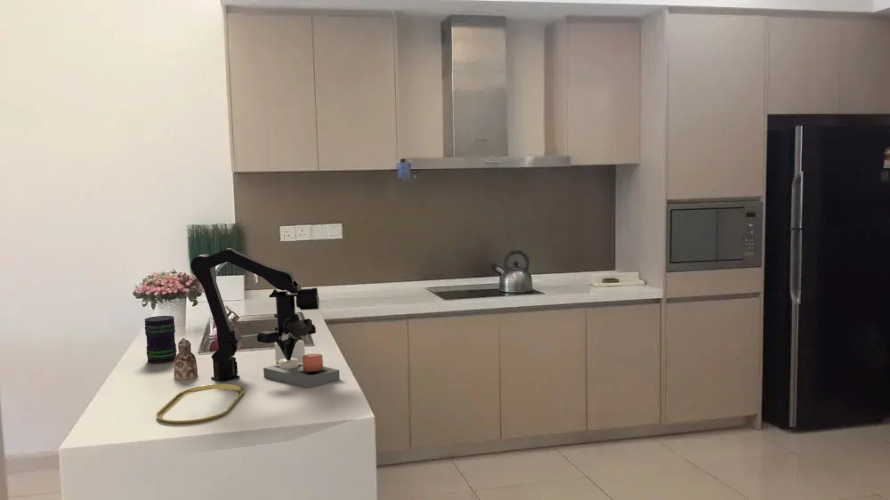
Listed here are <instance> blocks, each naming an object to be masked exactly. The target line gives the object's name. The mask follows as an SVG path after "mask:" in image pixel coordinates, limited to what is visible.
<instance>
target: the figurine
mask: <svg viewBox="0 0 890 500" xmlns="http://www.w3.org/2000/svg"><path fill="white" fill-rule="evenodd" d="M191 345H192V343H191V342H190V341H189V340H188V339H186V338H185V337H184V338H181V340H180V341H179V342H178V343H177V349H178V350H177V351H178V353H176V354H177V355H176V357H175V361H174V367H173V368H174V369H173V376H174V377H173V378H174V379H175V380H190V379H195V378H197V377H198V374H199V372H198V364H197V358H196V356H195V354H194V353H193V352H192V346H191Z"/></svg>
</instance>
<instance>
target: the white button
mask: <svg viewBox="0 0 890 500" xmlns="http://www.w3.org/2000/svg"><path fill="white" fill-rule="evenodd" d="M296 367H299V361H298V358H291V360H286V358H284V359H280V360H279V368H281V369H286V370H288V369H292V368H296Z"/></svg>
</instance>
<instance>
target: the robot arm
mask: <svg viewBox="0 0 890 500" xmlns="http://www.w3.org/2000/svg"><path fill="white" fill-rule="evenodd" d="M225 263H230V264H231V265H234V266H237V267H238V268H240V269H243V270H245V271H247V272H249V273H251V274H255V275H256V276H259V277H261V278H262V279H263V280H265V281H266V282H267V283H268V284H270V285H272V286H273V287H274V289H273V290H272V292H271V293H270V294H269V296H268V297H269V298H275V305H276V306H275V307H276V308H275V309H276V313H274V314H273V316H274V319H275V318H276V324H277V325H276V326H274V331H273V330H264V331H260V332H257V335H256V340H257V341H256V342H258V343H259V342H260V343H263V344H272V343H277V344H278V346H279V347H280V349H281V351H282V352H283V354H284V356H285V358H286V360H291V356H292V353H293V350H294V347H295V344H296V342H297V341H298V340H301V339H302V338H303V336H304V337H307V336H308V335H313V334H316V333H317V328H316V325H315V324H313V321H312V319H311V318H305V319H301V320H300V316H299V313H296V307H297V308H298V309H300V311H312V310H313V311H314V310H319V309H320V296H319V291H318V287H312V288H302V287H301V286H300V285H299V284H298V281H296V280H295V275H294V273H293V272H292V271H291V270H289V269H285V268H281V267H278V266H271V265H268V264H266V263H264V262H263V261H262V262H261V261H259V260H257V259H255V258H252V257H250V256H248V255H246V254H244V253H241V252H239V251H237V250H235V249H234V248H232V247H228V248H225V249H224V250H221V251H218V252H216V253H213V254H207V253H206V254H205V253H204V254H200V255H198V256H196V257H194V258H193V259H192V260H191V263H190V269H191V271H192V273H193V275H194V277H195V278H196V279H197V281H198V282H199V284H201V286H202V289H203V292H204V295H205V298H206V301H207V303H208V307H209V310H210V313H211V315H212V318H213V321H214V324H215V328H216V341H217V342H216V343H217V348H218V349H217V350H215V352H214V353H212V355H211V359H212V364H213V365H212V369H213V376H211V377H210V379H211V380H213V381H219V382H226V381H231V380H233V379H237V378H238V379H239V378H240V375H238V374H239V372H238V369H239V368H238V361H237V357H234V356H235V355H236V353H237V351H239V350H240V348H241V347H242V340H243V336H241V333H240V328H239V326H237V327H235V328H234V326H233V325H232V323H231V321H230V319H229V316H228V312H227V310H226V306H225V304H224V301H223V298H222V295H221V292H220V289H219V286H218V283H217V270H216V269H217V268H216V267H217V266H219V265H222V264H225ZM283 333H285V334H283Z"/></svg>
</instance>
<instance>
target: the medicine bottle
mask: <svg viewBox="0 0 890 500" xmlns="http://www.w3.org/2000/svg"><path fill="white" fill-rule="evenodd" d="M283 334H285V333H283ZM305 350H306V349H305V341H304V340H301V339H299V340H298V341H297V342H296V344H295V347H294V350H293V353H292V356H291V358H298V361H300V362H303V359H302V356H304V355H306V351H305ZM274 351H275V352H274V355H275V364H277V363H278V364H279V360H280V359H284V358H285V356H284V354H283V352H282V351H281V349H280V347H279V346H278V344H277V343H276V342H274Z"/></svg>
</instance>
